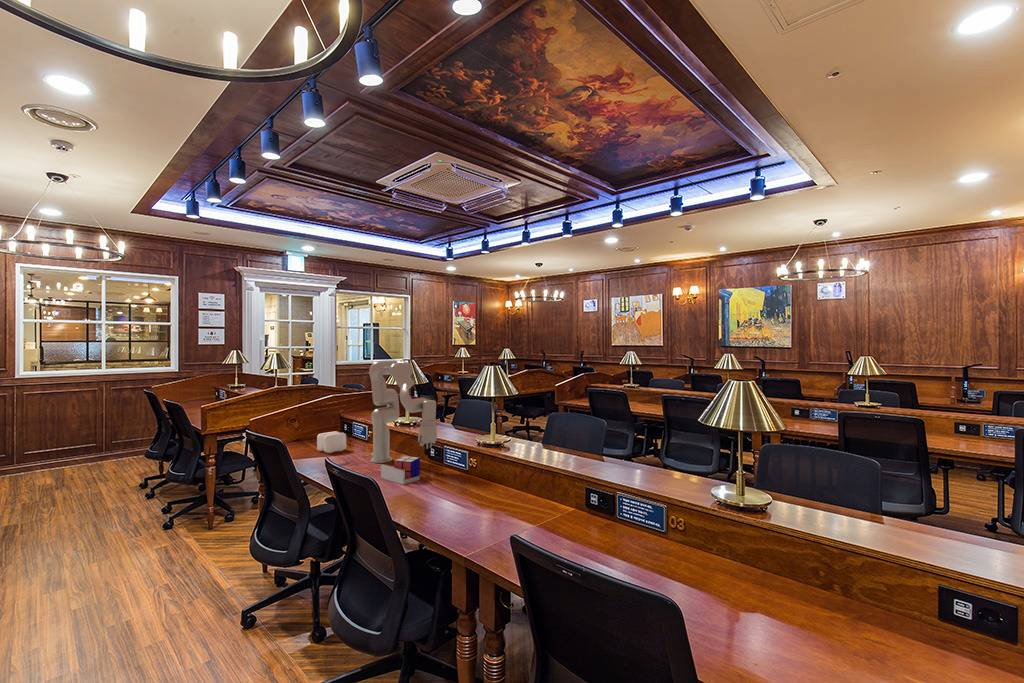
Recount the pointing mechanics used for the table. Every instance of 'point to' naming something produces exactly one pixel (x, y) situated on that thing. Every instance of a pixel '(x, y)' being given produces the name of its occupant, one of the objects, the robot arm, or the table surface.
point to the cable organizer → (331, 441)
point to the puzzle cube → (408, 466)
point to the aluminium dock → (396, 475)
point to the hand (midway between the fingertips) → (427, 454)
